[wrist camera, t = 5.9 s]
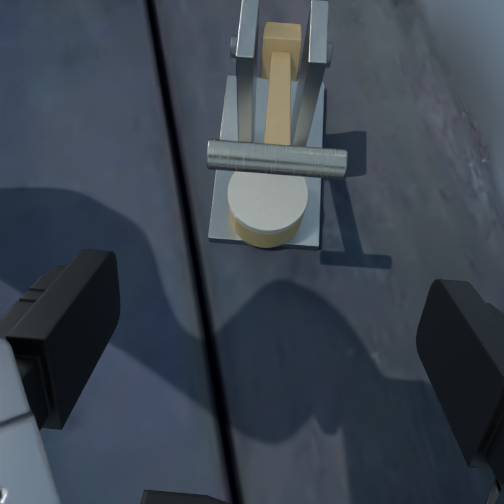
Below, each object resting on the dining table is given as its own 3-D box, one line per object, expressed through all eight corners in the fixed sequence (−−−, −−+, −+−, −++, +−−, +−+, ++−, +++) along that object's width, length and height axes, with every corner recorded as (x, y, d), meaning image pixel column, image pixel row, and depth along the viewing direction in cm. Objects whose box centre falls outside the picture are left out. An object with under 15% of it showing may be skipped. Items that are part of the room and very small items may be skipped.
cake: (214, 209, 36) (210, 188, 32) (269, 167, 37) (271, 142, 33) (261, 262, 35) (263, 246, 31) (316, 217, 36) (325, 197, 32)
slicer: (317, 250, 36) (363, 159, 22) (209, 241, 36) (185, 145, 22) (322, 89, 41) (363, -69, 27) (227, 82, 41) (218, -80, 27)
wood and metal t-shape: (339, 197, 18) (352, 146, 16) (207, 187, 18) (205, 134, 16) (322, 66, 28) (328, 26, 26) (236, 59, 28) (238, 19, 26)
